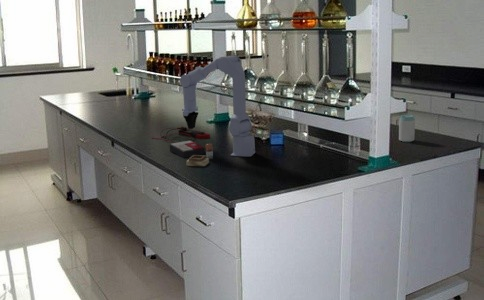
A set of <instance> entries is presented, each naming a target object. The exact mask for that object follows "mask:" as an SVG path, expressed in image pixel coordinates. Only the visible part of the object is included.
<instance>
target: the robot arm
mask: <svg viewBox="0 0 484 300" xmlns="http://www.w3.org/2000/svg"><path fill="white" fill-rule="evenodd" d="M242 61H243V60H242V59H241V58H240V57H239V56H238V55H236V54H233V55H229V56H228V55H227V56H219V57H218V58H215V60H213V61H211V62H210V63H208V64H207V65H205V66H204V67H202V66H195V68H194V70H192V71H188V74H187V73H186V74H182V75H181V76H180V78H179V82H180V83H179V84H180V85H181V87H182V93H183V94H182V96H183V108H182V109H181V111H182V116H183V118H184V121H185V122H186V125H187V129H191V130H194V129H195V128H196V124H197V118H198V115H199V112H198V111H199V106H197V95H196V89H197V85H198V83H200V82H201V81H203V80H204V79H205V80H206V78H207V76H208V74H210V73H212V72H214V71H216V70H219V71H221V72H222V73H224V74H226V75H227V76H229V77H230V78H231V81H232V106H233V107H232V108H233V109H232V111H233V114H232V115H231V117H230V122H229V125H228V131H229V133H230V134H231V137H232V150H233V151H232V153H231V154H230V156H231V157H250V158H251V157H252V156H254V154H255V153H256V147H255V145H256V144H255V143H256V142H255V135H251V134H250V131H251V130H252V124H253V123H252V122H251V119H250V118H251V117H250V116H249V115H248V114H247V106H246V104H247V103H246V102H247V101H246V100H247V99H246V74H245V69H244V68H243V65H242Z"/></svg>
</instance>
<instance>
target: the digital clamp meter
mask: <svg viewBox="0 0 484 300" xmlns="http://www.w3.org/2000/svg"><path fill="white" fill-rule="evenodd" d="M168 129H170V130H168ZM165 130H168V131H167V132H166V134H165V135H162V132H164V131H165ZM174 130H175V131H176V130H177V131H178V132H175V133H172V134H168V133H169V132H170V131H174ZM177 134H178V135H180V134H181V136H184V137H188V138H191V139H189V140H188V141H192V142H194V141H195V140H196V139H200V140H201V139H202V140H204V139H205V140H206V139H207V140H208V139H210V138H211V134H210V133H206V132H205V131H200V130H195V129H188V127H185V126H180V127H176V128H171V127H168V128H164V129H162V130H161V132H160V134H159V135H160V138H157V137H151V140H162V141H166V142H167V141H169V142H172V143H176V141H173V140H176V139H177V140H178V141H179V142H183V141H181V140H180V138H179V136H175V137H173V138H171V139H170V138H168V137H169V136H172V135H177Z"/></svg>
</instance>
